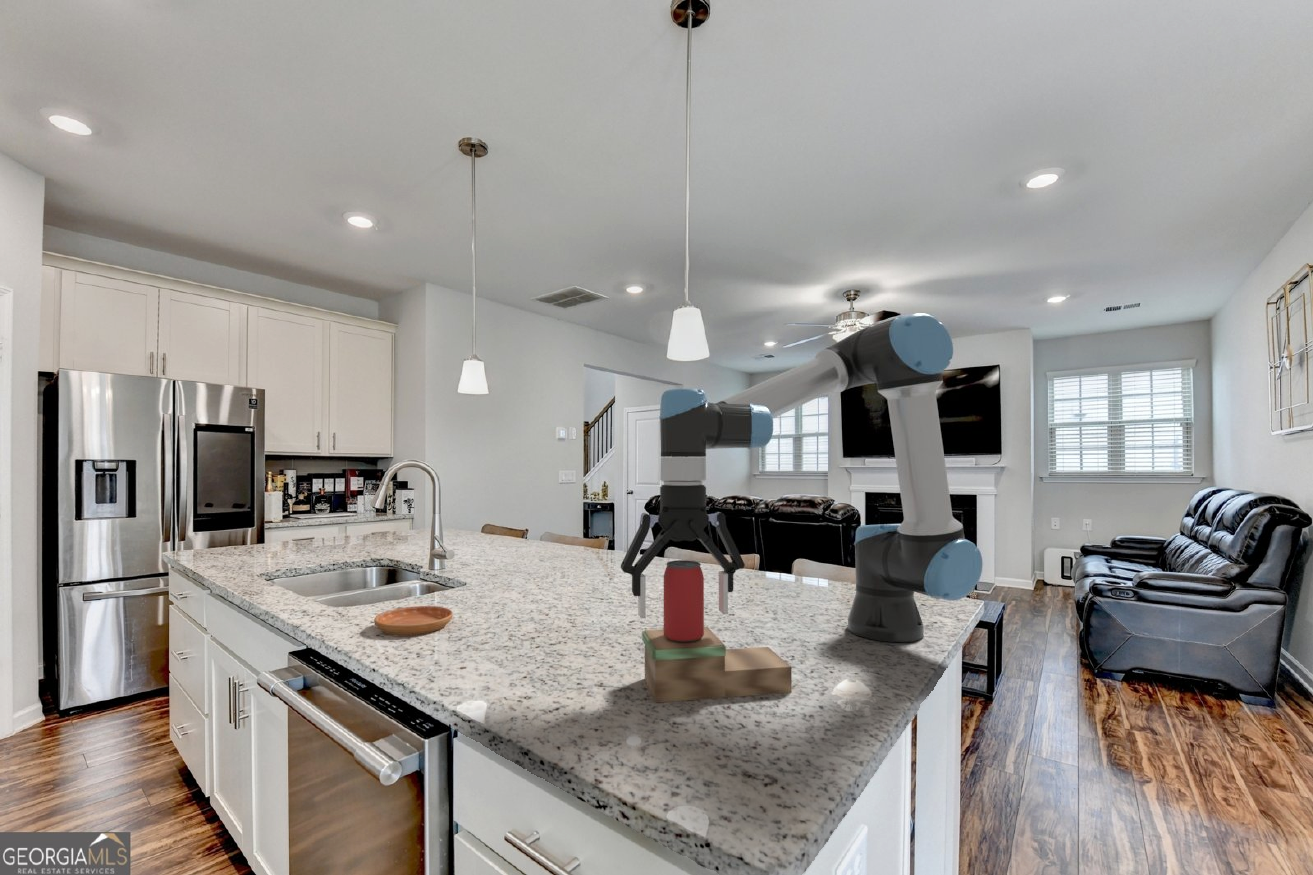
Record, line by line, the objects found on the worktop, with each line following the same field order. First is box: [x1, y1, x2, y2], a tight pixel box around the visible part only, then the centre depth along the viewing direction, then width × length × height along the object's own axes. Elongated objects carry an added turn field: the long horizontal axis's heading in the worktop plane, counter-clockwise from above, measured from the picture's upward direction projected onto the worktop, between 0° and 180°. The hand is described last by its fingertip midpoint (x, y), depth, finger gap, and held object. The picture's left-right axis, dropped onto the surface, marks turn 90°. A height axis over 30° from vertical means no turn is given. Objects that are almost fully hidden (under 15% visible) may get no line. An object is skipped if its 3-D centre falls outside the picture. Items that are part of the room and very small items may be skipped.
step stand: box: [641, 626, 793, 703], centre depth 96 cm, size 22×10×8 cm, turn 101°
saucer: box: [373, 605, 454, 637], centre depth 129 cm, size 16×16×3 cm
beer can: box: [663, 559, 705, 643], centre depth 95 cm, size 7×7×12 cm
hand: (683, 614), depth 95 cm, fingers open, 13 cm apart
